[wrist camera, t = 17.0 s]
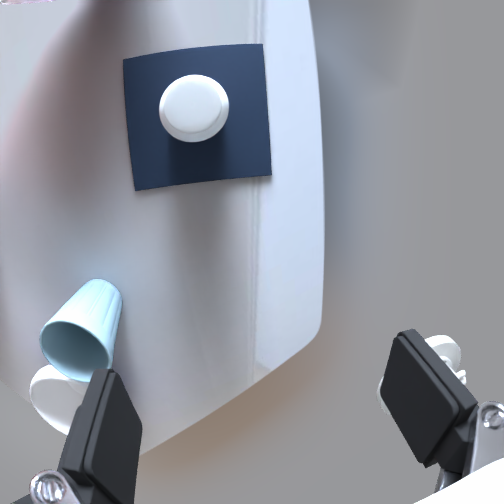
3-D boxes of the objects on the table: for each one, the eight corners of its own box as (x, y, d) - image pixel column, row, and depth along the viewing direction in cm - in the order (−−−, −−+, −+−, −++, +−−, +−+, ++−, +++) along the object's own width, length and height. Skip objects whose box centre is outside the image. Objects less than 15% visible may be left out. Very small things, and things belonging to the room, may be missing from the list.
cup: (107, 335, 35) (85, 393, 26) (63, 295, 32) (28, 346, 23) (143, 303, 34) (126, 361, 25) (96, 257, 31) (61, 305, 22)
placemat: (262, 44, 25) (262, 43, 25) (271, 174, 31) (271, 175, 31) (123, 60, 24) (123, 59, 24) (135, 190, 29) (135, 191, 29)
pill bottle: (208, 149, 29) (207, 156, 20) (159, 126, 27) (138, 124, 18) (234, 102, 27) (246, 88, 18) (186, 79, 26) (176, 55, 17)
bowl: (34, 333, 34) (13, 367, 27) (126, 344, 36) (114, 385, 29) (61, 401, 39) (49, 435, 32) (141, 412, 41) (136, 450, 34)
